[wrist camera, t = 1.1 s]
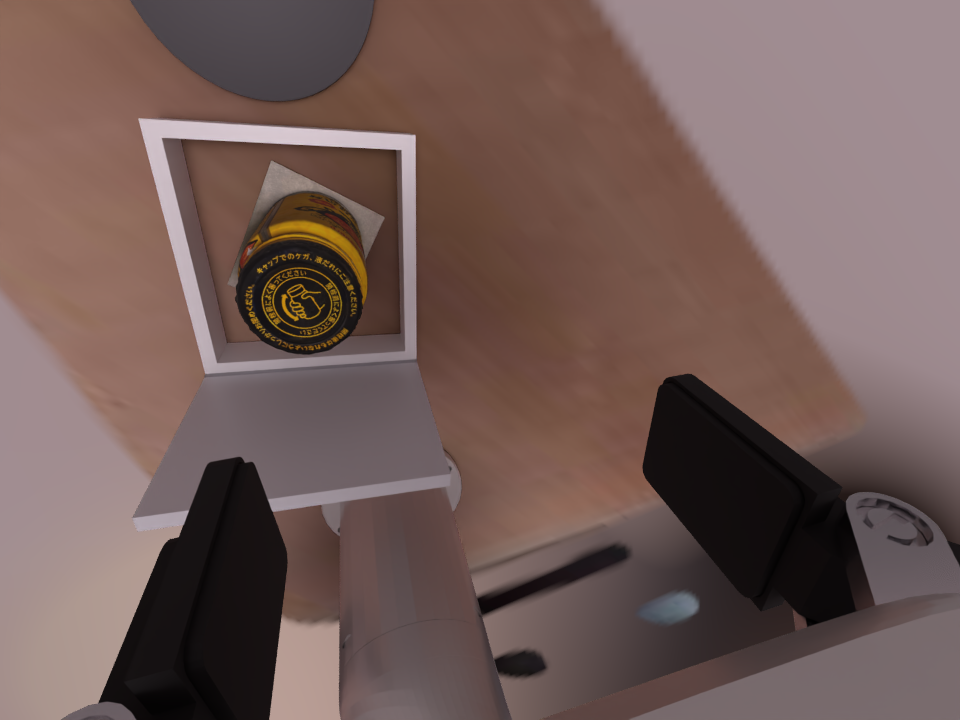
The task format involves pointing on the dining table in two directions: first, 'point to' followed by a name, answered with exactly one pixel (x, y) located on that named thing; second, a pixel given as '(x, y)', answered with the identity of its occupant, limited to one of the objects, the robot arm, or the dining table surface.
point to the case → (293, 363)
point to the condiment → (303, 264)
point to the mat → (262, 41)
